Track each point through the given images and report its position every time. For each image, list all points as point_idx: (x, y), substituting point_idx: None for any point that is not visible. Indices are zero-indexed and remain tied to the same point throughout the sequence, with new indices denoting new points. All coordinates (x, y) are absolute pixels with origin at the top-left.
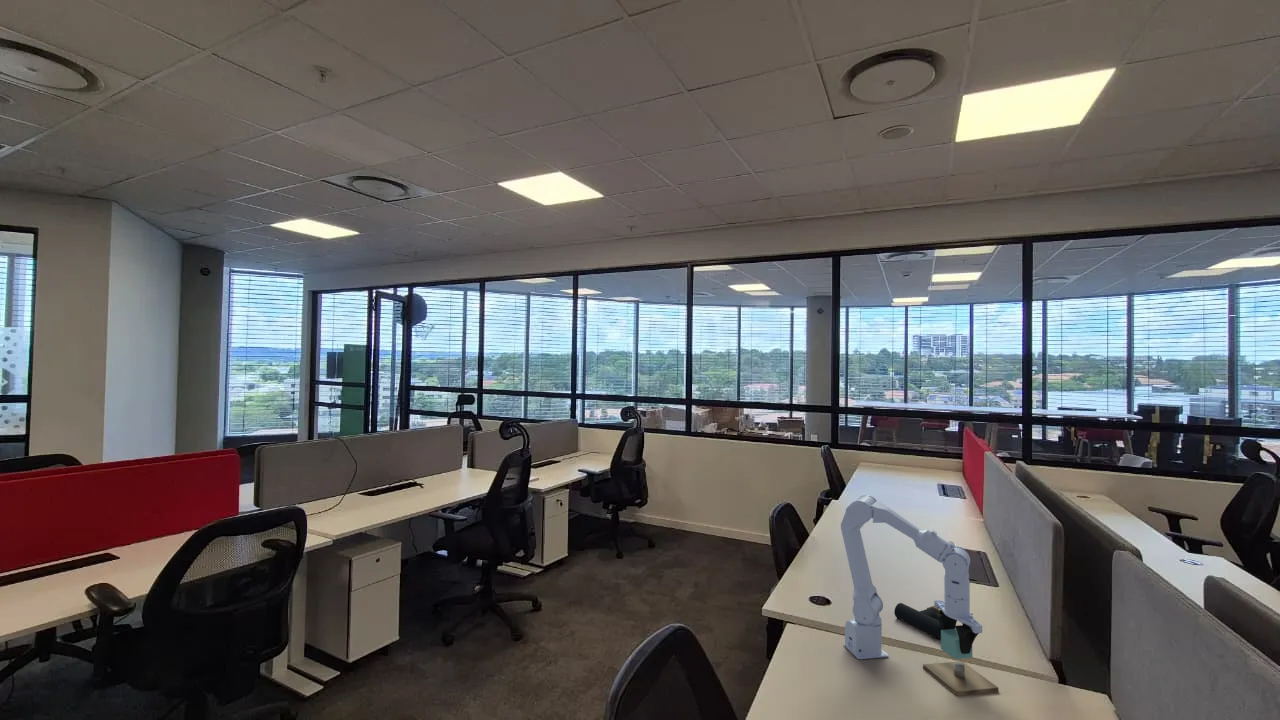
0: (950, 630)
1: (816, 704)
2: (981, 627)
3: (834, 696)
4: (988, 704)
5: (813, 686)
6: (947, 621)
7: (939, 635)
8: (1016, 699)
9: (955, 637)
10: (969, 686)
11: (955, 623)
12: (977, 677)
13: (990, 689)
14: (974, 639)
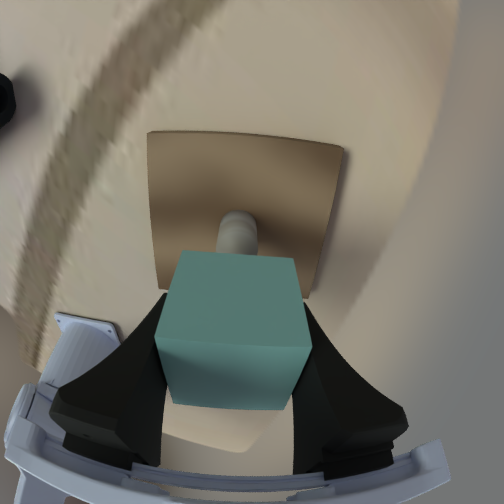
0: (179, 379)
1: (249, 436)
2: (445, 469)
3: (238, 425)
4: (368, 238)
5: (211, 430)
6: (154, 426)
7: (5, 113)
8: (387, 129)
9: (264, 400)
10: (303, 244)
11: (141, 376)
12: (266, 168)
13: (336, 181)
14: (351, 367)
